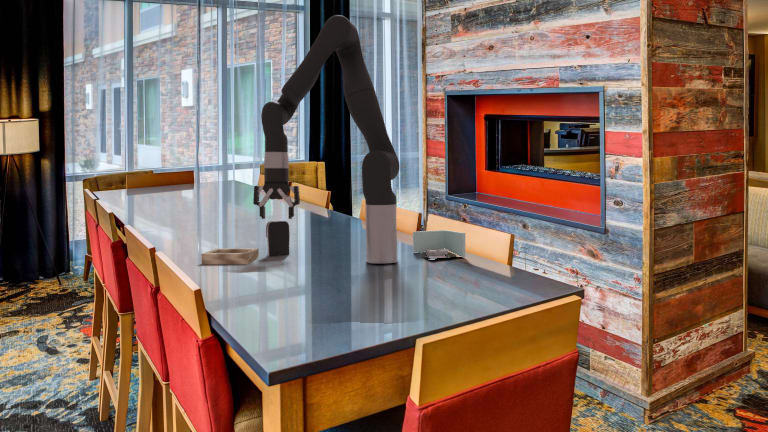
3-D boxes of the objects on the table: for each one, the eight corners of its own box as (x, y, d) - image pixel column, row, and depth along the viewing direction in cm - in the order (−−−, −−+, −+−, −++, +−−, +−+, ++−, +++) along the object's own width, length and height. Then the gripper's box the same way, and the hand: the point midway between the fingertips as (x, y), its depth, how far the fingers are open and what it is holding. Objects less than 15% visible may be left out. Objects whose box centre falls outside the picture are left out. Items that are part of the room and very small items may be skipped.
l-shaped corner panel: (413, 255, 197) (412, 231, 196) (445, 253, 201) (445, 230, 201) (431, 259, 186) (430, 234, 185) (465, 257, 191) (465, 232, 190)
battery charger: (286, 255, 198) (285, 219, 197) (290, 256, 194) (289, 220, 194) (265, 256, 195) (264, 220, 194) (268, 258, 191) (268, 221, 191)
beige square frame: (258, 258, 191) (258, 248, 191) (247, 264, 178) (247, 253, 178) (216, 258, 192) (215, 248, 192) (201, 264, 179) (201, 253, 178)
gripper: (301, 167, 196) (301, 218, 197) (256, 167, 197) (257, 217, 198) (296, 166, 189) (297, 219, 190) (250, 166, 190) (251, 219, 191)
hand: (276, 218), depth 194 cm, fingers open, 8 cm apart
